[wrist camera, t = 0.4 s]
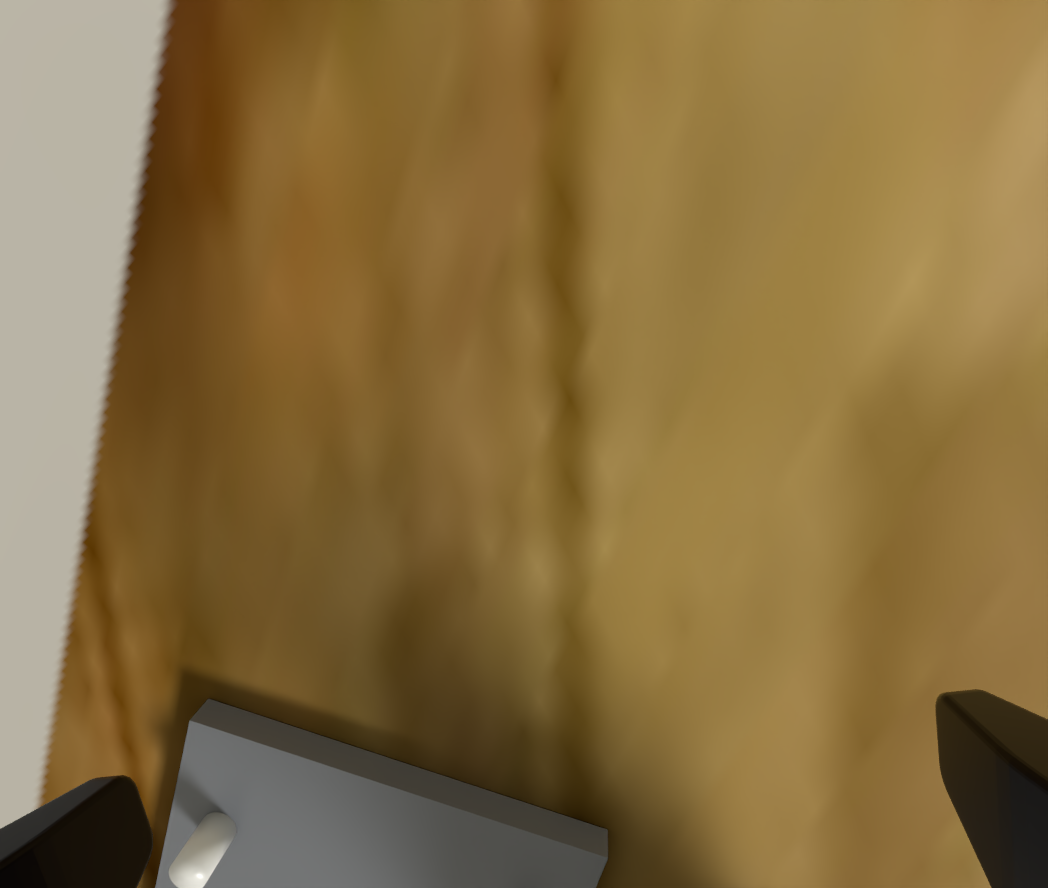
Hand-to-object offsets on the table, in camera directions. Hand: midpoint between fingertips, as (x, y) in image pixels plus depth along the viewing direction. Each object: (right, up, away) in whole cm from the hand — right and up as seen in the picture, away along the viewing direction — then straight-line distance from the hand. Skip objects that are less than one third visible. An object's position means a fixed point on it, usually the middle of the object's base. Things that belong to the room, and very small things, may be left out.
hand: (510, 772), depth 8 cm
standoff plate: (-6, -15, +19) cm, 25 cm away
